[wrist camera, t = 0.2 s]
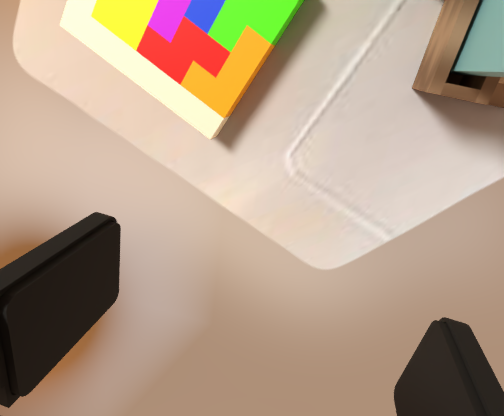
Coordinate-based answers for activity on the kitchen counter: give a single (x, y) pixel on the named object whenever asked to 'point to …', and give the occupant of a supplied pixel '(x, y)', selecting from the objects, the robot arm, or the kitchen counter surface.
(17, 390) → the robot arm
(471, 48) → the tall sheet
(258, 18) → the puzzle game
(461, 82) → the rack
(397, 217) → the kitchen counter surface
